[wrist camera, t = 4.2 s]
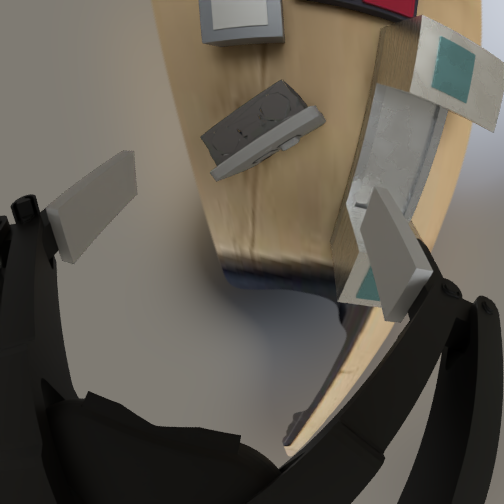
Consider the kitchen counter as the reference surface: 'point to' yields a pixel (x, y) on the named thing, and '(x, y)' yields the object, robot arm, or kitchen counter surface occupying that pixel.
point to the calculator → (379, 7)
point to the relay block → (241, 22)
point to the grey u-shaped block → (408, 131)
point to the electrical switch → (260, 130)
